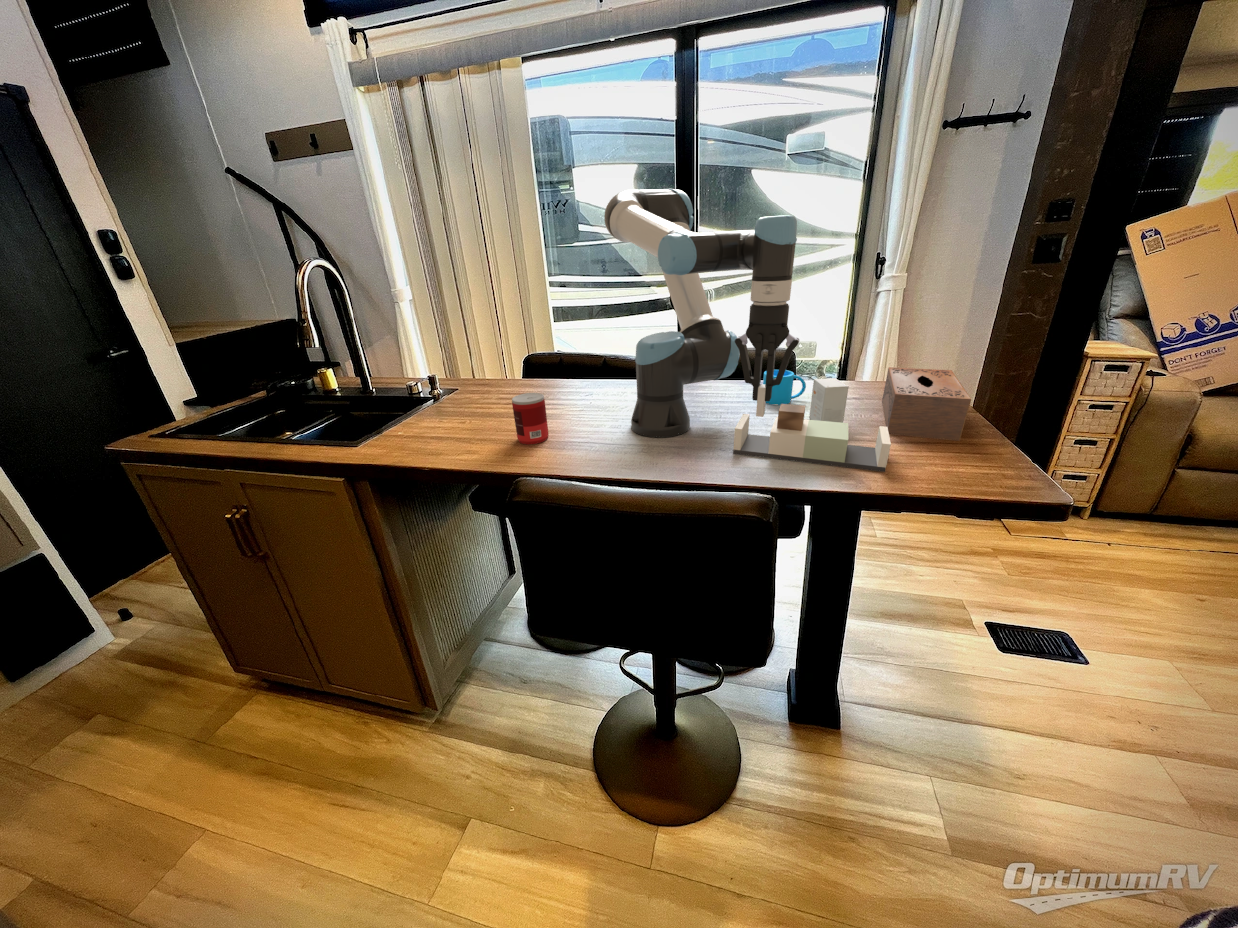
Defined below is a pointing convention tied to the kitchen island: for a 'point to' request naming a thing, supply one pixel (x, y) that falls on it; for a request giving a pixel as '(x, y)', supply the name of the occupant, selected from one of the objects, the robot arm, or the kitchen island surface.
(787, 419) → the walnut block
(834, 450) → the board
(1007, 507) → the kitchen island surface
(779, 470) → the kitchen island surface
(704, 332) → the robot arm
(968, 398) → the tissue box cover
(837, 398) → the small box
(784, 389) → the mug
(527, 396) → the canned food
